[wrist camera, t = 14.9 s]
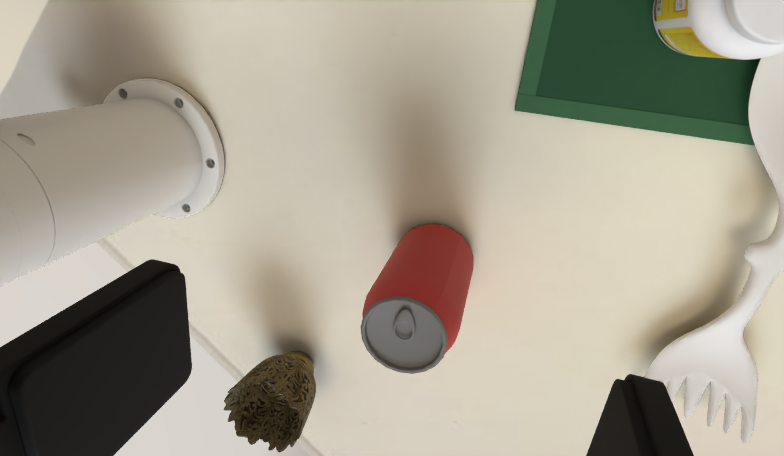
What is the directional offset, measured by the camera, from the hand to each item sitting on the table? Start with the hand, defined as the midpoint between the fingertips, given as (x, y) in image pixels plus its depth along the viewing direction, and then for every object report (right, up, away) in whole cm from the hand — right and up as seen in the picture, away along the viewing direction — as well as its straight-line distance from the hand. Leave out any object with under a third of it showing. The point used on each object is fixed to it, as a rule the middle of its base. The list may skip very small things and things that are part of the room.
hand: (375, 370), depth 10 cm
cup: (-9, -11, +39) cm, 41 cm away
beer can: (+4, +1, +30) cm, 31 cm away
